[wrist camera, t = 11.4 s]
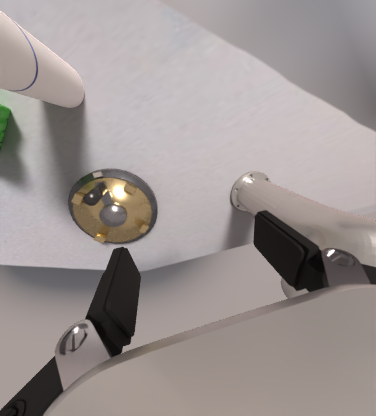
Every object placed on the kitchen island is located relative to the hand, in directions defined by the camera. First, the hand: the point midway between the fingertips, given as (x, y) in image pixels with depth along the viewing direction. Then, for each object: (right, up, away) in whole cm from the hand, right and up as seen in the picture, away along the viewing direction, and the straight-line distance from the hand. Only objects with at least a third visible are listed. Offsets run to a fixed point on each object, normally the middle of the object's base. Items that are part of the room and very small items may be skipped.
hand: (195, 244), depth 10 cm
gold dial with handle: (-19, +2, +27) cm, 33 cm away
